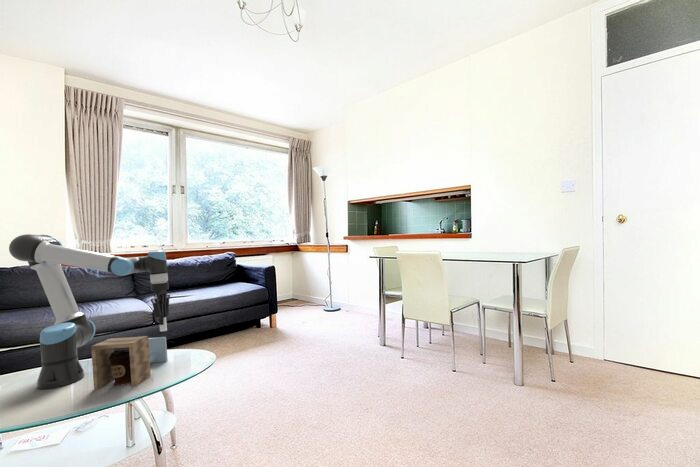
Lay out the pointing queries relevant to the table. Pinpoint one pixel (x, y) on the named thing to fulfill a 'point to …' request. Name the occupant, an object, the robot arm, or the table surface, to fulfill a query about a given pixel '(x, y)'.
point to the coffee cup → (120, 367)
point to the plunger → (157, 349)
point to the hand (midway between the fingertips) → (163, 330)
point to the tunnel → (137, 359)
